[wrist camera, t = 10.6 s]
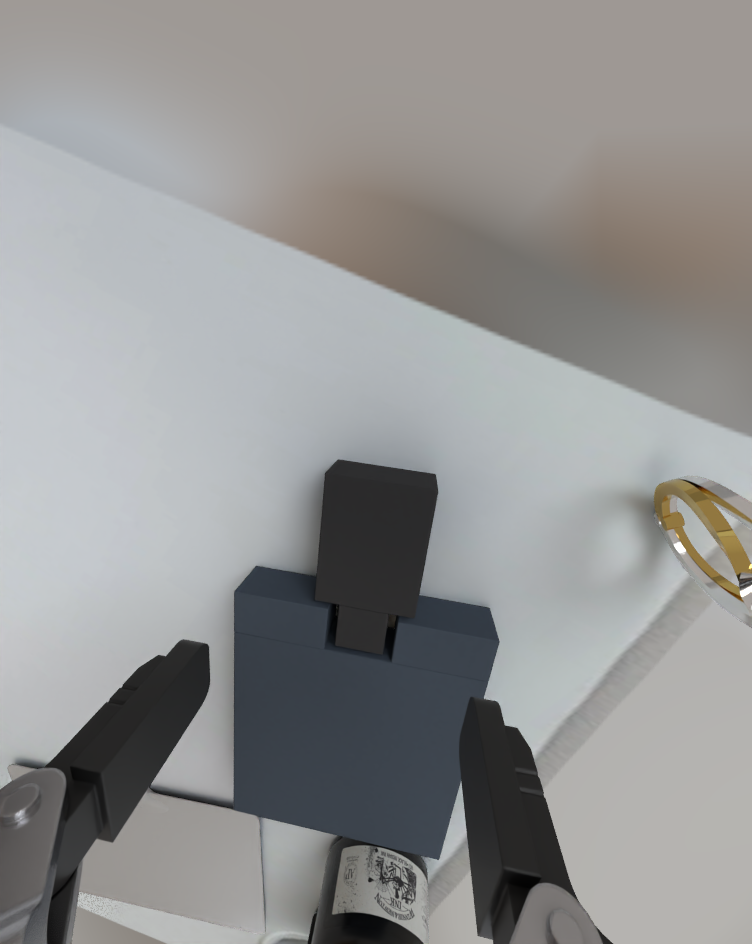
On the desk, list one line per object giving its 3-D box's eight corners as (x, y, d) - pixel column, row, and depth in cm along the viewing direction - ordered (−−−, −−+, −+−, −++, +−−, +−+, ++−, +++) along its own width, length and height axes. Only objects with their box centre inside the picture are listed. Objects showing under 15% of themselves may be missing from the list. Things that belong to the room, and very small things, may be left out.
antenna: (260, 776, 30) (254, 792, 29) (268, 926, 37) (263, 943, 36) (2, 726, 32) (-13, 739, 31) (56, 876, 39) (46, 891, 38)
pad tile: (337, 459, 21) (324, 472, 18) (435, 474, 21) (438, 490, 18) (323, 609, 24) (310, 641, 21) (408, 625, 24) (407, 660, 21)
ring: (615, 471, 19) (743, 535, 12) (678, 449, 19) (857, 502, 11) (647, 574, 21) (779, 692, 13) (706, 558, 20) (883, 671, 12)
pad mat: (256, 565, 24) (233, 591, 21) (489, 607, 23) (500, 641, 20) (251, 768, 30) (233, 810, 27) (437, 811, 28) (439, 860, 26)
